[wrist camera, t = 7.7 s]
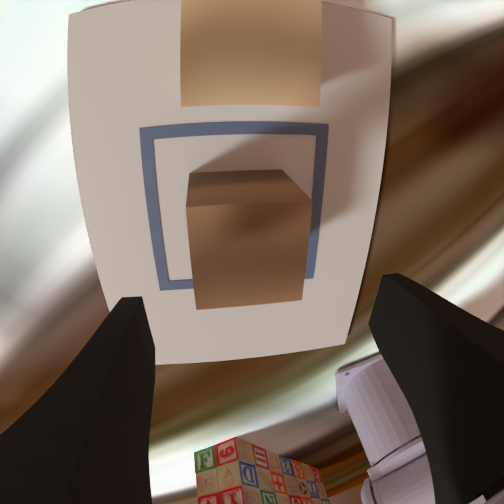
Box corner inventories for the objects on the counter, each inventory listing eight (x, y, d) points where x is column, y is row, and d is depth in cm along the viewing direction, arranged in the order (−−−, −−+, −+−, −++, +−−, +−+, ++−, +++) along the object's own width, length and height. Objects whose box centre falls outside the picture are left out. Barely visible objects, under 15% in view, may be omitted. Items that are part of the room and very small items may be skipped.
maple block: (187, 11, 10) (182, -21, 6) (286, 13, 11) (321, -13, 7) (186, 102, 13) (180, 107, 9) (284, 101, 13) (319, 107, 9)
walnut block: (189, 173, 14) (185, 207, 10) (282, 169, 15) (312, 200, 11) (195, 255, 16) (196, 309, 13) (278, 249, 17) (301, 300, 13)
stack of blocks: (319, 466, 39) (339, 531, 28) (285, 479, 40) (301, 542, 29) (234, 435, 28) (253, 540, 18) (191, 451, 30) (201, 546, 19)
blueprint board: (73, 16, 10) (68, 14, 9) (385, 20, 12) (392, 18, 11) (129, 359, 20) (128, 365, 20) (341, 338, 23) (345, 344, 22)
